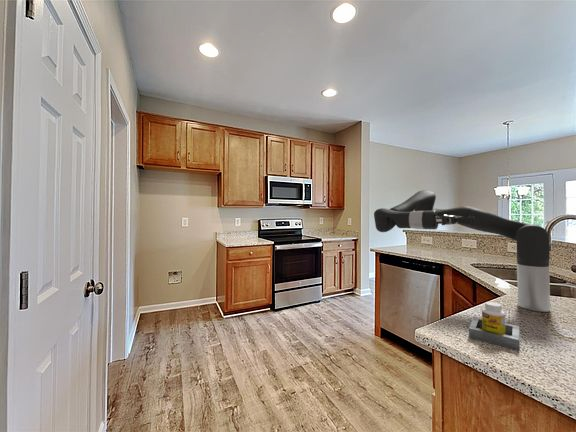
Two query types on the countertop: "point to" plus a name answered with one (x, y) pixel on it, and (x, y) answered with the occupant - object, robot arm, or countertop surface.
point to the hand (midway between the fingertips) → (472, 219)
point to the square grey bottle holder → (495, 335)
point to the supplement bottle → (493, 318)
